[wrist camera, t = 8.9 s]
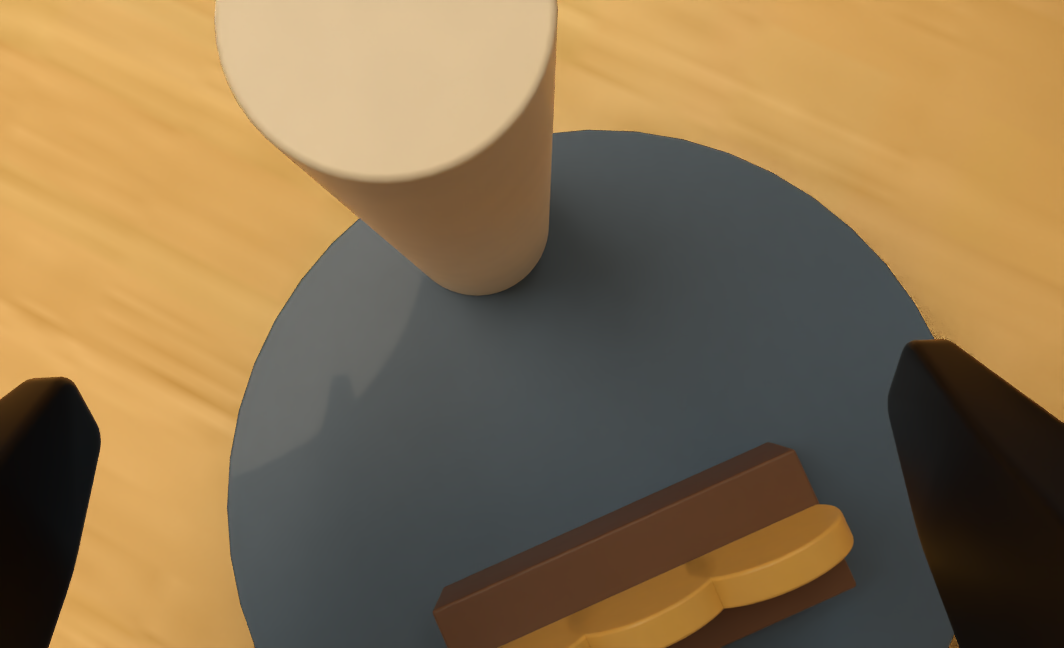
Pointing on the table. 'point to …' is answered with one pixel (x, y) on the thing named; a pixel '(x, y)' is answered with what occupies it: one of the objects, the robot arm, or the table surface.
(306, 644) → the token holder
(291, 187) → the table surface
